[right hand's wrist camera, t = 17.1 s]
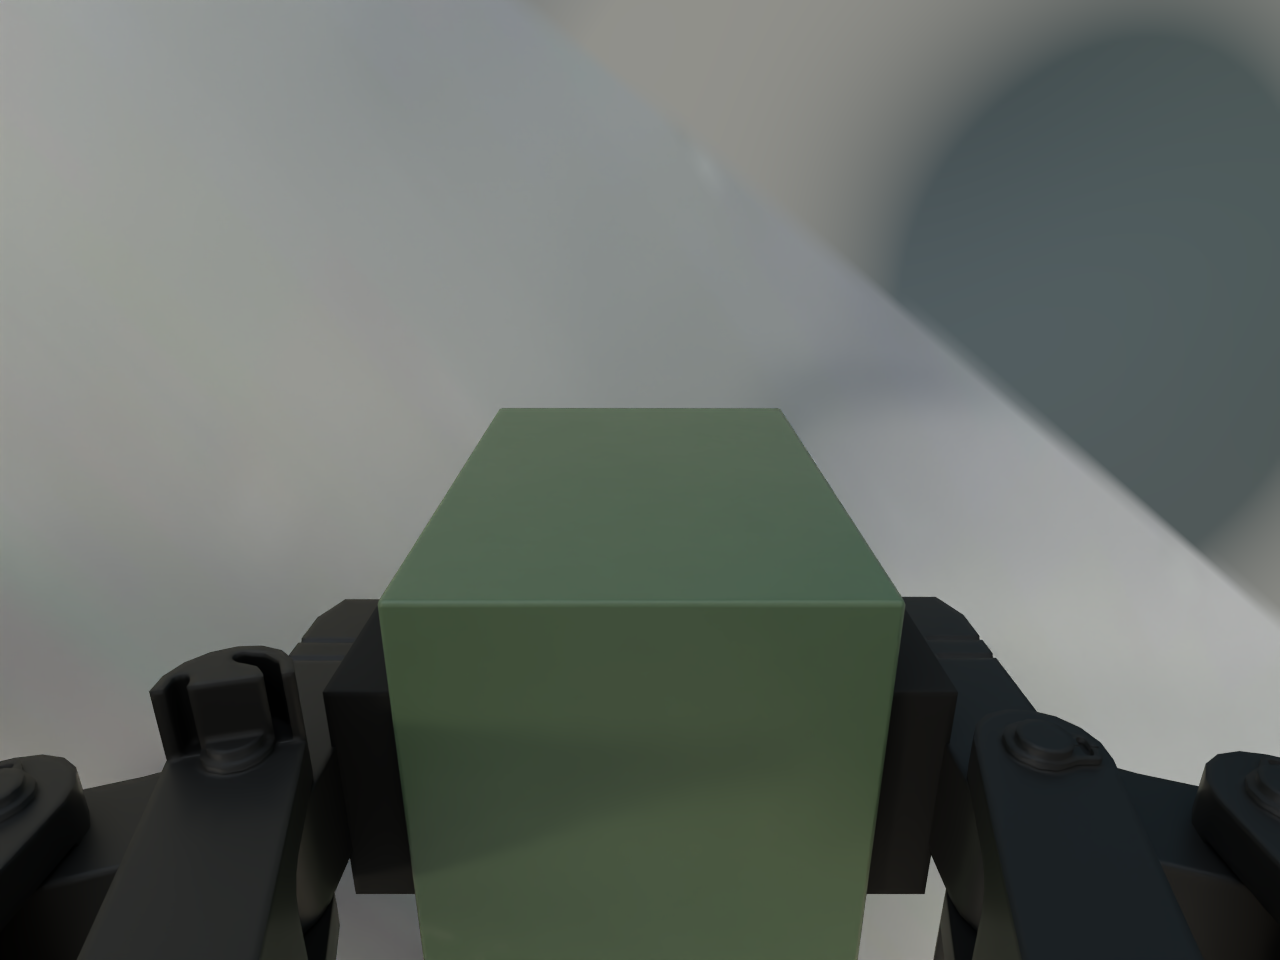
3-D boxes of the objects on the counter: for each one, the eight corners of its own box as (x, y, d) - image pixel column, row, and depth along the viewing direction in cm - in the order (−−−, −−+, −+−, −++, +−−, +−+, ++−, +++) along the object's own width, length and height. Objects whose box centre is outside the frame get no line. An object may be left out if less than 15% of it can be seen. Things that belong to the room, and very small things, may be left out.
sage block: (514, 650, 16) (424, 983, 9) (499, 407, 14) (373, 601, 7) (764, 650, 16) (856, 982, 9) (780, 407, 14) (907, 601, 7)
